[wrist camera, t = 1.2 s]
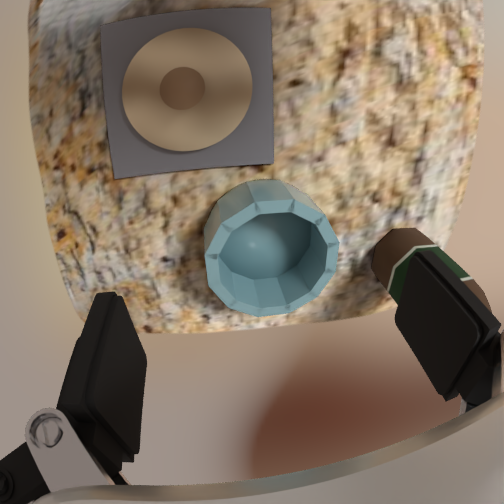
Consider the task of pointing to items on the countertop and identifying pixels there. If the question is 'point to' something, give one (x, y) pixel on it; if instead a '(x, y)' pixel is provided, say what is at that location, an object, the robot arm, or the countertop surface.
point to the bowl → (268, 248)
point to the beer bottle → (399, 254)
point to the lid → (187, 89)
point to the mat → (223, 152)
